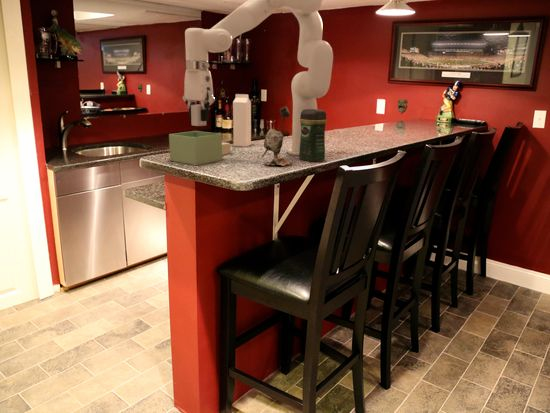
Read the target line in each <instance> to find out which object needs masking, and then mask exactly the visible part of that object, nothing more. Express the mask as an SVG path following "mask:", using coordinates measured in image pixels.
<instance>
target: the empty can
mask: <svg viewBox="0 0 550 413" xmlns="http://www.w3.org/2000/svg"><path fill="white" fill-rule="evenodd" d="M201 110H203V109H202V106H201V104H196V105H191V120H190V121H191V123H190V124H191V126H193V127H205V126H207V121H201Z"/></svg>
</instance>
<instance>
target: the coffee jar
mask: <svg viewBox="0 0 550 413" xmlns="http://www.w3.org/2000/svg"><path fill="white" fill-rule="evenodd" d="M300 122H301V139H300V151H299V155H298V157H299V159H300V160H302V161H306V162H318V163H319V162H322V161H324V160H326V146H325V145H326V144H325V142H326V124H327V112H326V111H325V110H323V109H318V108H317V109H305V110H303V111H302V112H301V116H300Z"/></svg>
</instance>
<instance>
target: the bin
mask: <svg viewBox="0 0 550 413" xmlns="http://www.w3.org/2000/svg"><path fill="white" fill-rule="evenodd" d="M168 142H169V160H170V161H171V162H175V163H181V164H188V165H193V166H199V165H205V164H208V163H209V164H210V163H213V162H219V161H223V155H222V142H223V134H222V133H219V132H218V133H217V132H208V131H201V130H191V131H184V132H177V133H169V134H168Z"/></svg>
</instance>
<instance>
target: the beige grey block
mask: <svg viewBox="0 0 550 413" xmlns="http://www.w3.org/2000/svg"><path fill="white" fill-rule="evenodd" d="M229 154H231V142H223V141H222V156H223V155H229Z"/></svg>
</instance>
